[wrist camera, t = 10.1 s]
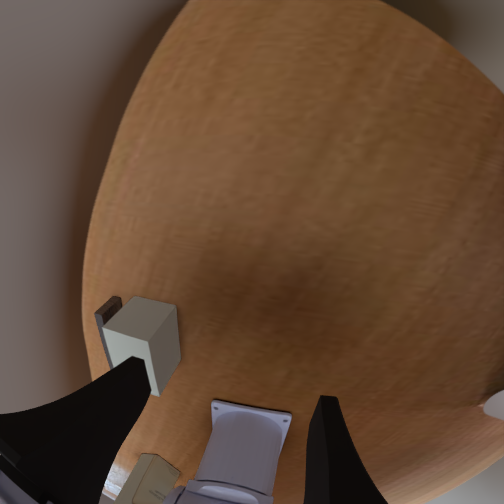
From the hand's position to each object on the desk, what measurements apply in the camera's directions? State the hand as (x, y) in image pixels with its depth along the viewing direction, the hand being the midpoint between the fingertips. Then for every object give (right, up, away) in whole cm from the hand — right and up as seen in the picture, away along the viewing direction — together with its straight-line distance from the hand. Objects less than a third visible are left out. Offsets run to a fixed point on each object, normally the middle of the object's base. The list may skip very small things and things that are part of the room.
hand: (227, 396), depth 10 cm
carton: (-7, -1, +13) cm, 15 cm away
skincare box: (-14, -29, +26) cm, 42 cm away
